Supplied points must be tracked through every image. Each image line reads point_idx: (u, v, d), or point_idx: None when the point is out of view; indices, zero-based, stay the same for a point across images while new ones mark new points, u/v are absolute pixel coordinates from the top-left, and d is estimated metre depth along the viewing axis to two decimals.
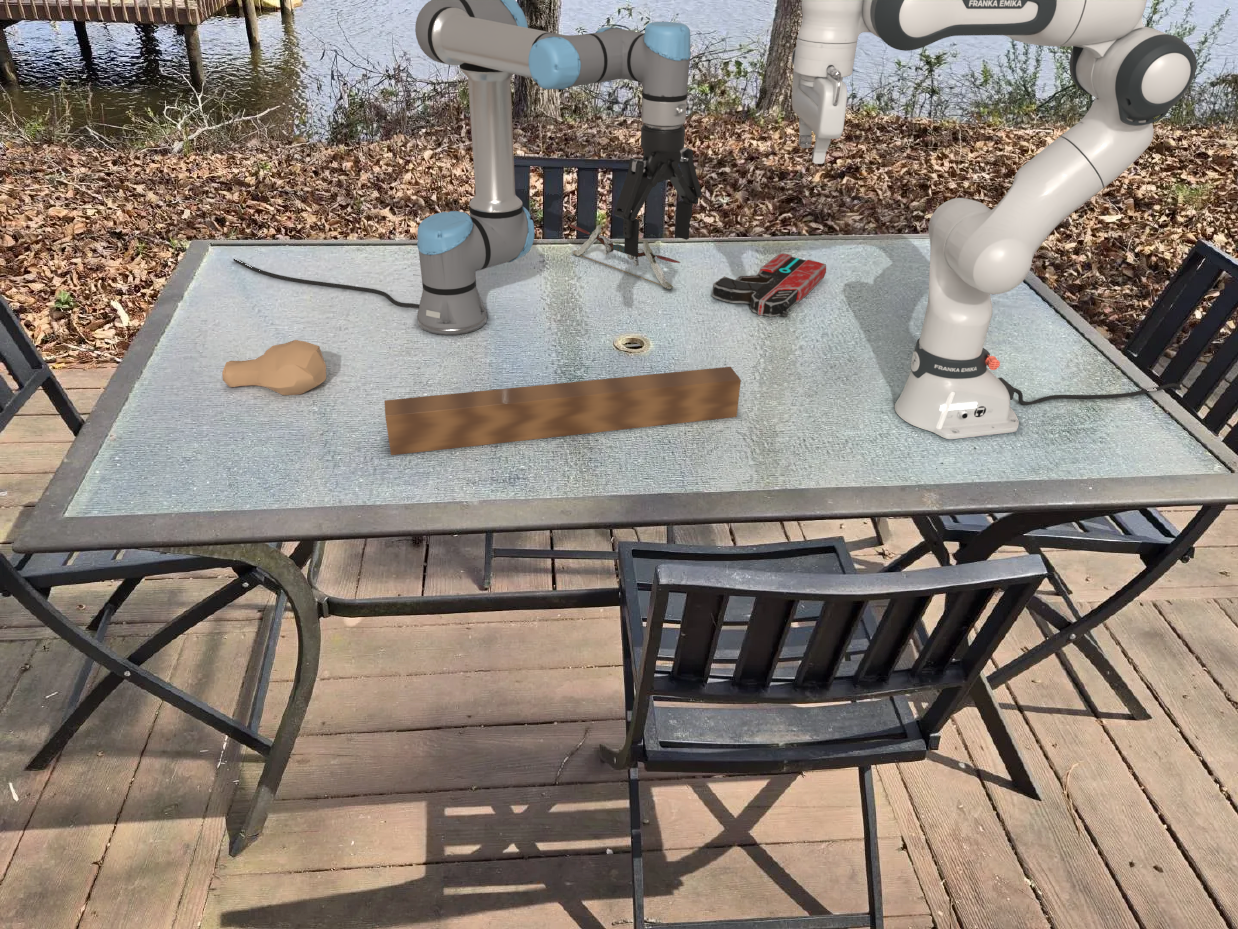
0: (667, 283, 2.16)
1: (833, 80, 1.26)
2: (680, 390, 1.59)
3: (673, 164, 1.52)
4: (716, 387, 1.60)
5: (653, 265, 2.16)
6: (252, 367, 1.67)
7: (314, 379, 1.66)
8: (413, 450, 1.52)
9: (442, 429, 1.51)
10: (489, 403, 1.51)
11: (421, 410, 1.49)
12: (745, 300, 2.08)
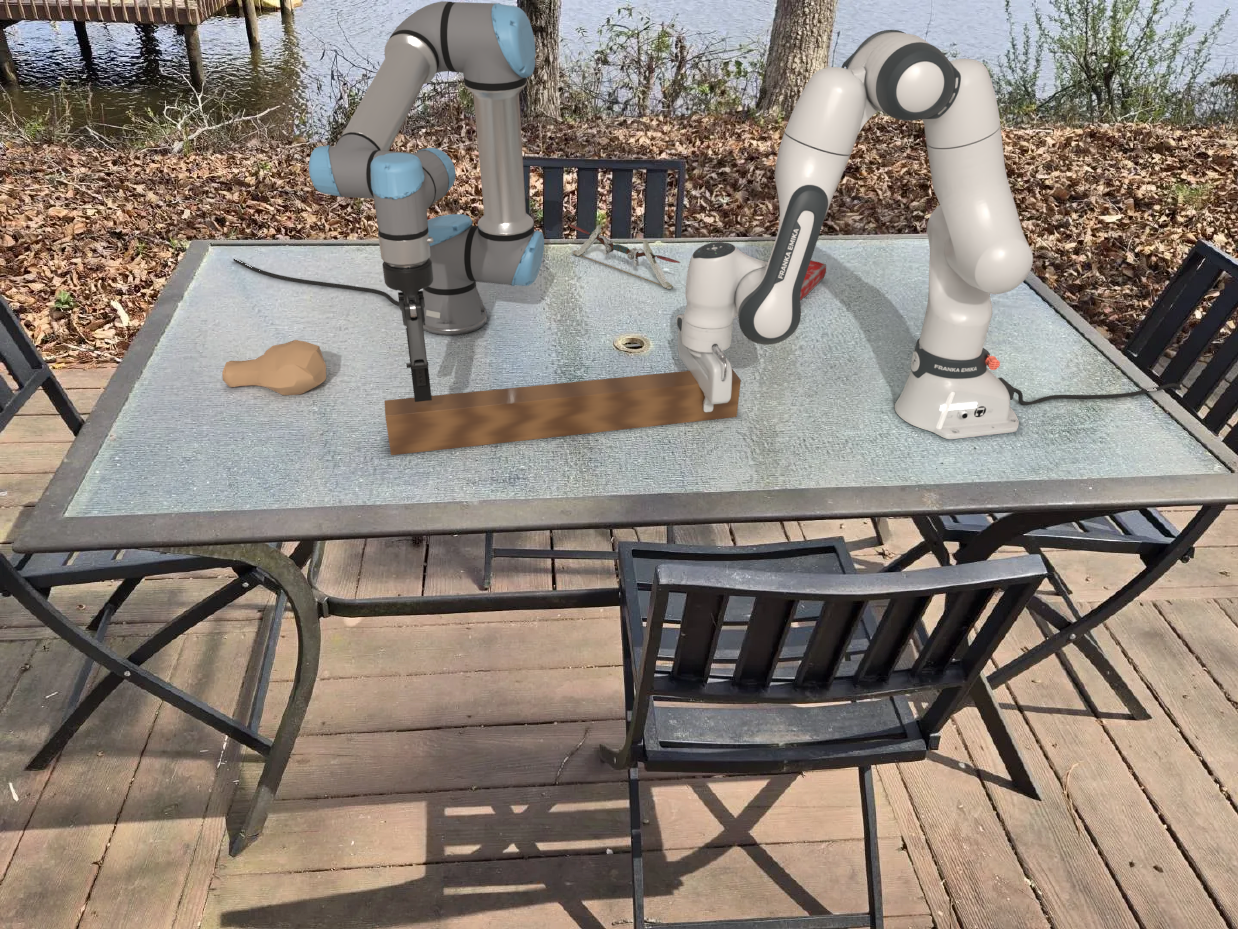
0: (667, 283, 2.16)
1: (719, 361, 1.51)
2: (680, 390, 1.59)
3: (423, 295, 1.41)
4: None
5: (653, 265, 2.16)
6: (252, 367, 1.67)
7: (314, 379, 1.66)
8: (413, 450, 1.52)
9: (442, 429, 1.51)
10: (489, 403, 1.51)
11: (421, 410, 1.49)
12: None
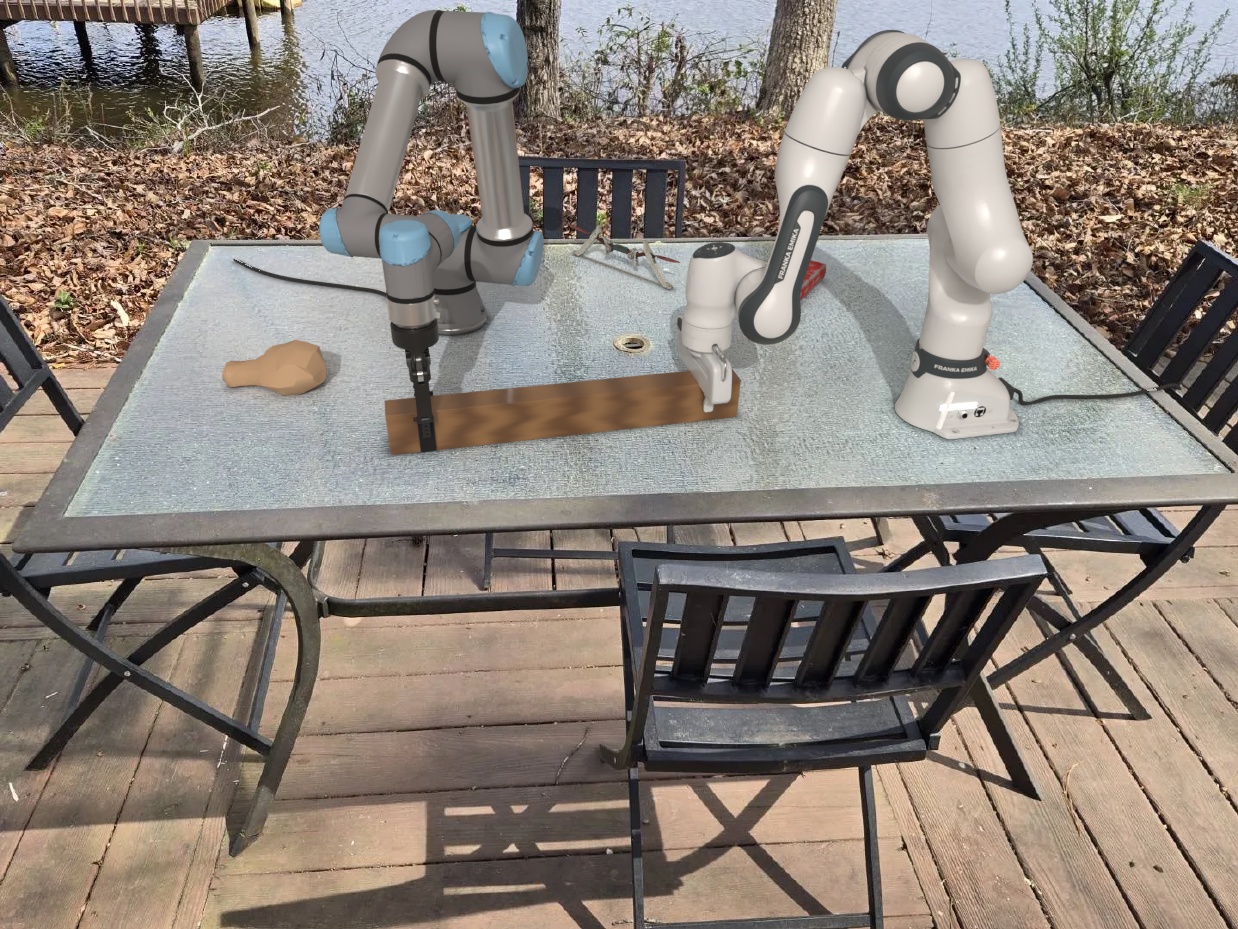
0: (667, 283, 2.16)
1: (719, 361, 1.51)
2: (680, 390, 1.59)
3: None
4: None
5: (653, 265, 2.16)
6: (252, 367, 1.67)
7: (314, 379, 1.66)
8: (413, 450, 1.52)
9: (442, 429, 1.51)
10: (489, 403, 1.51)
11: None
12: None
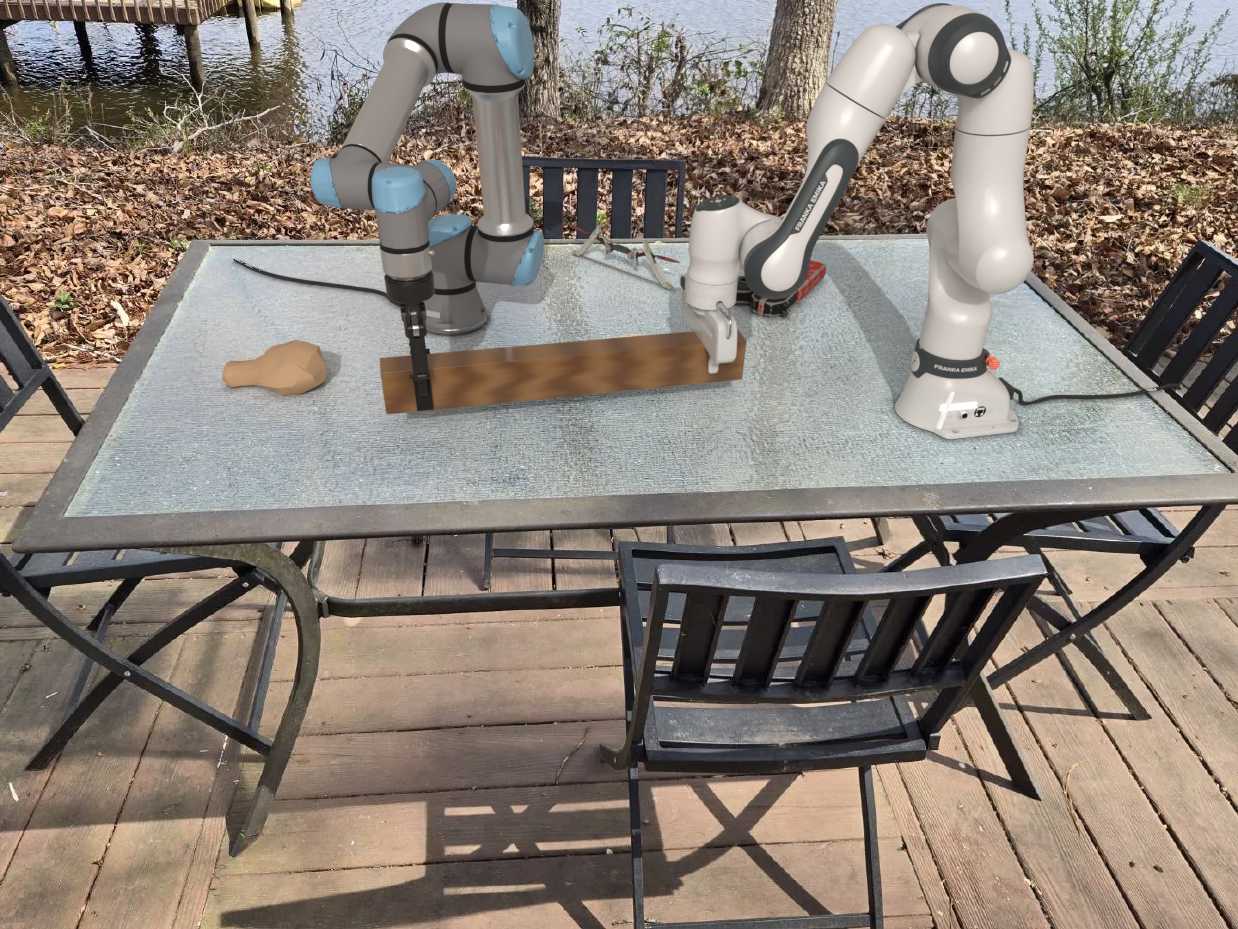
0: (667, 283, 2.16)
1: (724, 318, 1.46)
2: (684, 351, 1.54)
3: (425, 306, 1.42)
4: None
5: (653, 265, 2.16)
6: (252, 367, 1.67)
7: (314, 379, 1.66)
8: (409, 409, 1.48)
9: (439, 388, 1.47)
10: (487, 361, 1.47)
11: None
12: (745, 300, 2.08)
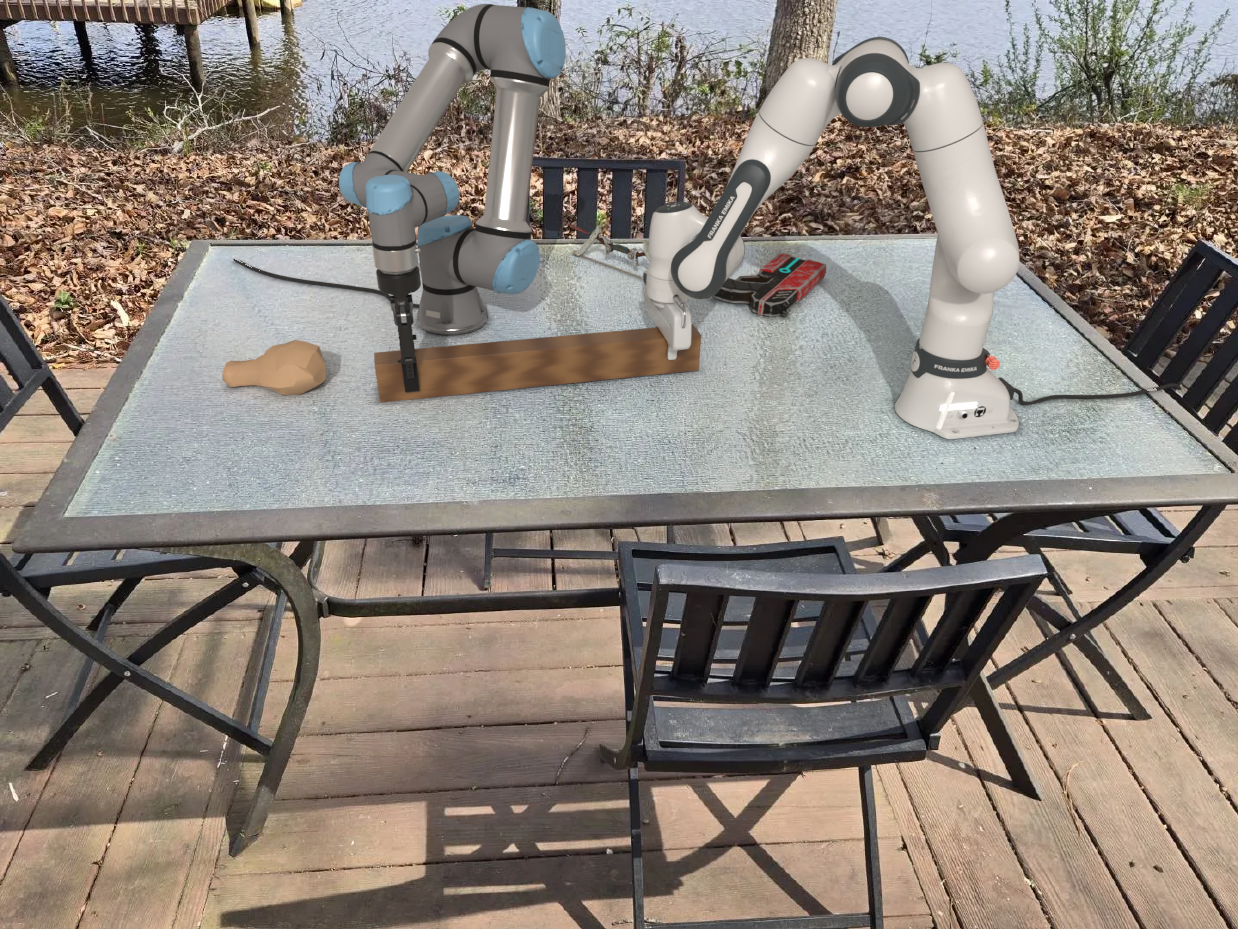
0: None
1: (679, 310, 1.65)
2: (645, 345, 1.73)
3: None
4: None
5: None
6: (252, 367, 1.67)
7: (314, 379, 1.66)
8: (400, 398, 1.67)
9: (426, 379, 1.66)
10: (469, 354, 1.66)
11: None
12: (745, 300, 2.08)
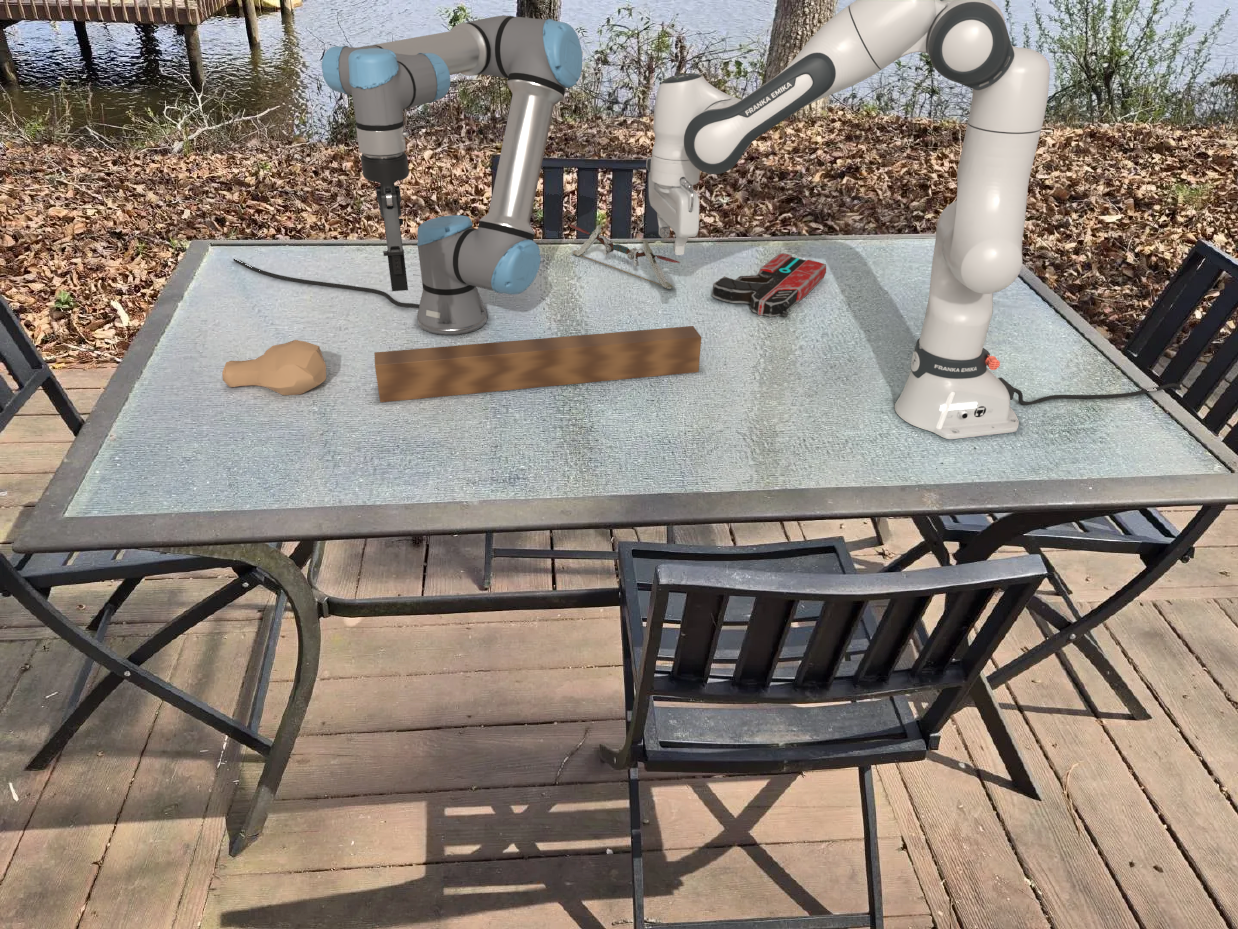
0: (667, 283, 2.16)
1: (687, 191, 1.52)
2: (645, 346, 1.73)
3: (399, 189, 1.49)
4: (678, 343, 1.75)
5: (653, 265, 2.16)
6: (252, 367, 1.67)
7: (314, 379, 1.66)
8: (400, 398, 1.67)
9: (426, 379, 1.66)
10: (469, 355, 1.66)
11: (407, 361, 1.63)
12: (745, 300, 2.08)
